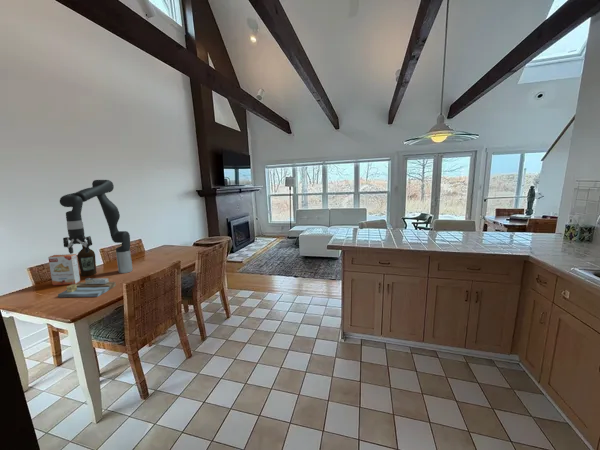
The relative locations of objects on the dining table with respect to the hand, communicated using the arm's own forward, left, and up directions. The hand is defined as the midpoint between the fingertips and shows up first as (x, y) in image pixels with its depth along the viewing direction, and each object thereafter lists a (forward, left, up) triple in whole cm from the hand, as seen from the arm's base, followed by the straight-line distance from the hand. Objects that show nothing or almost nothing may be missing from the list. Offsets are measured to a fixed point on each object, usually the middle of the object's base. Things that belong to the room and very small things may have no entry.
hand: (79, 253), depth 160 cm
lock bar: (-9, +1, -24) cm, 26 cm away
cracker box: (-18, -27, -28) cm, 43 cm away
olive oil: (-37, -26, -28) cm, 53 cm away
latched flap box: (-4, -1, -27) cm, 28 cm away
